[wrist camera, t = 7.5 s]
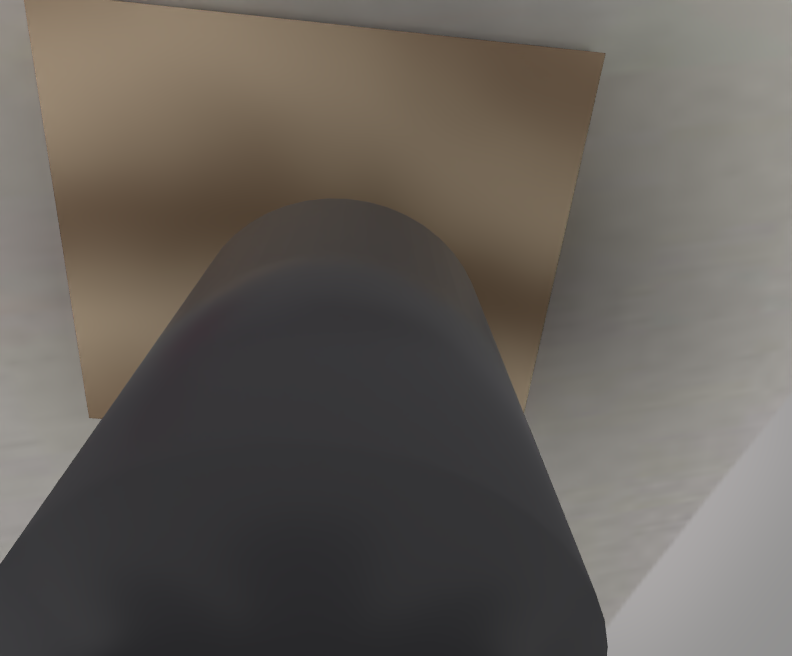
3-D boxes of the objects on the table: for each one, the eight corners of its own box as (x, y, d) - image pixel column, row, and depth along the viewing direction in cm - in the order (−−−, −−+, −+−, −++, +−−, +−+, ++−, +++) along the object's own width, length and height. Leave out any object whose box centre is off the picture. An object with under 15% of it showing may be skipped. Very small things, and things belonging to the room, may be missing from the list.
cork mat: (511, 424, 21) (517, 442, 20) (101, 400, 20) (89, 417, 19) (592, 52, 16) (605, 53, 15) (43, -7, 15) (22, -10, 14)
